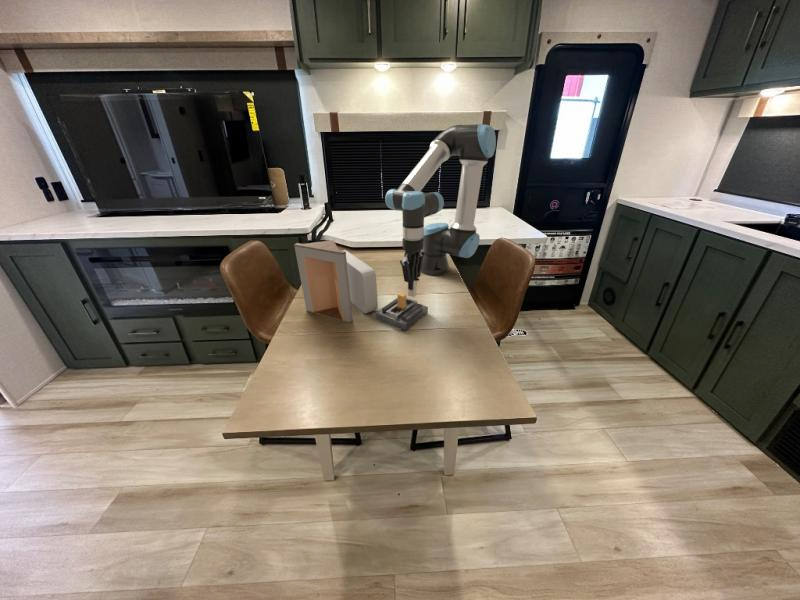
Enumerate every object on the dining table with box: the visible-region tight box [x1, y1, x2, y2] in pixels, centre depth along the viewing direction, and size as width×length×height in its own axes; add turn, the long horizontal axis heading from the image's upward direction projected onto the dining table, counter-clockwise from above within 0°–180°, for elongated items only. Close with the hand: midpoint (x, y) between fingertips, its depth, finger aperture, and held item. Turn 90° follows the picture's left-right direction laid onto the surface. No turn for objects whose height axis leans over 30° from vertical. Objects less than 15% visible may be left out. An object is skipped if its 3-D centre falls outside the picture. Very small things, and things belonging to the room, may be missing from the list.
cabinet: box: [294, 239, 354, 324], centre depth 118 cm, size 21×10×28 cm, turn 65°
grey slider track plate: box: [381, 297, 423, 321], centre depth 119 cm, size 11×12×1 cm
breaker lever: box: [397, 292, 407, 311], centre depth 118 cm, size 3×3×6 cm
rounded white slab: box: [342, 249, 378, 314], centre depth 129 cm, size 29×8×18 cm, turn 34°
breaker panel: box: [374, 297, 429, 332], centre depth 120 cm, size 15×14×4 cm
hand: (412, 295), depth 123 cm, fingers closed
